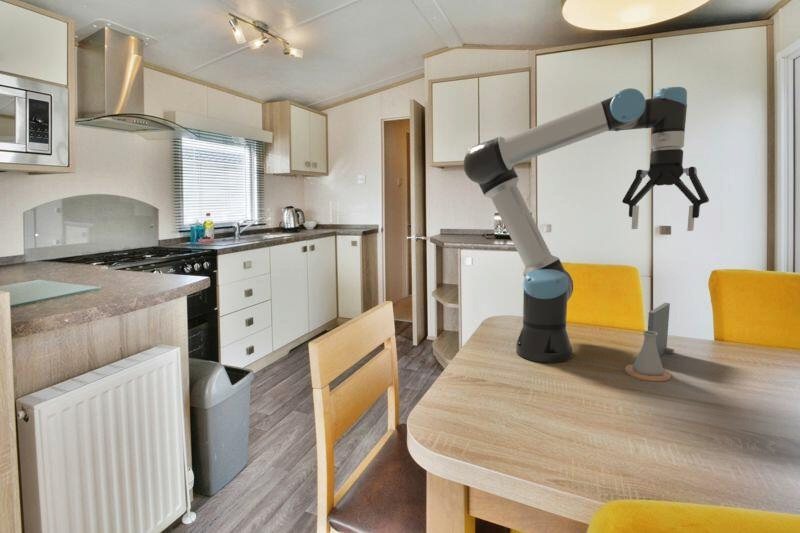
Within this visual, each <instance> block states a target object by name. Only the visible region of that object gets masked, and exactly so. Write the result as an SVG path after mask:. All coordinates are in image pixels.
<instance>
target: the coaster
mask: <svg viewBox="0 0 800 533" xmlns="http://www.w3.org/2000/svg"><path fill="white" fill-rule="evenodd" d="M633 364H634V363H632V364H628V365H626V366H625V368H624V371H625V373H626V374H627V375H629V376H630V377H632V378H635V379H638V380H641V381H646V382H654V383H656V382H657V383H658V382H660V383H661V382H667V381H670V380H671V379H672V373H671V372H670V371H668V370H667V369H664V368H663V369H664V375H647V374H641V373H638V372H637V371H635V370H633V369H632V368H633Z"/></svg>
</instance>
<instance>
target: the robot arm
mask: <svg viewBox="0 0 800 533" xmlns="http://www.w3.org/2000/svg"><path fill="white" fill-rule="evenodd" d="M687 101H688V90H687V89H686V88H685V87H682V86H671V87H664V88H660V89H657V90H656V91H655V92H654V95H653V97H651V98H646V97H645V96H644V94H643V93H642V92H641V91H640V90H638V89H637V88H630V87H629V88H624V89H621V90H620V91H618V92H617V93H615V94H614V96H611V97H609V98H607V99H604V100H602V101H599V102H596V103H593V104H591V105H588V106H586V107H584V108H581V109H578V110H575V111H573V112H570V113H567V114H565V115H563V116H560V117H557V118H555V119H552V120H550V121H547V122H544V123H542V124H539V125H536V126H533V127H531V128H529V129H527V130H524V131H521V132H519V133H516V134H513V135H510V136H508V137H503V136H498V137H495V138H492V139H490V140H487V141H484V142H481V143H477V144H476V145H474V146H472V147H470V149H469V150H468V151H467V153H466V154H465V156H464V159H463V170H464V173H465V175H466V176H467V178H468V179H469V180H470V181H472V182H474V183H476V184H478V186H479V187H480V189H481V192H482V194H483V196H484V197H486V198H489V199H491V201H492V202H493V205H494V206H495V208H496V211H497V213H498V215H499V218H501V221H502V223H503V225H504V227H505V229H506V231H507V233H508V235H509V237H510V239H511V241H512V243H513V245H514V248H515V249H516V251H517V254H519V257H520V260H521V261H522V263H523V265H524V270H523V273H522V274H523V276H524V278H523V283H522V287H523V309H522V310H523V312H522V328H521V329H520V333H519V334H518V335H519V336H518V338H517V341H516V343H515V344H516V345H515V348H516V349H515V352H516V354H517V355H518V356H520V357H521V358H524V359H526V360H529V361H533V362H541V363H562V362H565V361H568V360H570V359H571V358H573V347H572V344H571V340H570V336H569V334H568V332H567V312H568V311H567V308H568V302H569V300H570V299H571V297H572V296H573V295H572V294H573V292H574V281H573V278H572V275H570V273H569V272H568V271H567V270H566V269H565V268H564V266H563V263H562V262H561V260H560V258H559V257H558V256H555V255H553V254H551V251H550V249H549V247H548V245H547V243H546V241H545V239H544V237H543V235H542V233H541V232H540V230H539V227H538V226H537V224H536V221H535V220H534V217H533V215H532V213H531V211H530V210H529V207H528V206H527V204H526V201H525V199H524V198H523V196H522V193H521V191H520V189H519V188H518V183H519V179H520V178H519V176H518V173H517V172H516V170H515V168H514V166H515V165H517V164H520V163H522V162H525V161H528V160H531V159H533V158H536V157H539V156H541V155H544V154H547V153H550V152H552V151H555V150H558V149H561V148H565V147H567V146H571V145H572V144H574V143H578V142H581V141H583V140H587V139H589V138H592V137H595V136H597V135H600V134H603V133H605V132H620V131H629V130H639V129H641V130H642V129H651V140H650V141H651V143H650V149H651V150H652V151H651V152H650V156H649V157H650V158H649V169H648V170H644V169H637V170H636V172H635V177H634V180H633V181H632V182H631V184H630V187H629V188H628V189H627V192H626V194H625V195H624V197H623V199H622V201H621V202H622V203H623V204H625V205H627V206H628V217H629V218H631V230H637V229H639V228H638V227H639V215H640V214H639V212H640V211H639V210H640V205H638V204H637V203H638V202H640V200H642V199H643V198H644V196H646V195H647V194H648V193H649V192H650V190H651V189H653V187H655V186H673V185H674V186H676V187H677V189H678V190H679V191H680V192H681V193H682V194H683V195H684V196H685V197H686V198H687V199H688V200H689V202H690V203H691V204H692V205H689V206H688V218H687V232H692V231H694V227H695V226H694V225H695V219H698V218H699V216H700V210H701V205H703V204H707V203H709V201H710V198H709V197H708V195H707V192H706V191H705V189H704V187H703V185H702V182H701V180H700V179H699V177H698V172H697V170H698V169H697V168H696V167H695V166H690V167H686V168H684V167H683V160H684V150H683V149H682V148H683V147H684V146H685V132H686V122H687V121H686V119H687V108H688V102H687ZM684 173H685V176H688V177H689V180H690V182H691V184H692V185H693V187H694V189H695V192H696V193H697V195H698V198H699V199H698V198H697V196H696V195H695V194H694V193H693V191H691V189H689V187H688V186H687V185H685V183H684V182H683V180H682V179H681V177H682V176H683V175H684ZM646 176H648V177H649V180H648V181H647V182H646V183H645V185H644V186H643V187H642V188H641V189H640V190H639V191H638V193H636V191H637V189H638V187H639V186H640V185H641V183H642V181H643V179H644V178H646ZM635 193H636V194H635Z"/></svg>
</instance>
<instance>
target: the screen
mask: <svg viewBox="0 0 800 533" xmlns="http://www.w3.org/2000/svg"><path fill="white" fill-rule="evenodd" d="M670 306H671V303H669V302H664V303H662V304H660V305H659V306H657V307H655V308H653V309H652V310H650V311H649V312H648V320H647V321H648V322H647V331H654V332H657V333H658V335H657V336H656V346H657V350H658V354H659V357H661V356H662V355H664V354H668V355H673V354H674V353H675V349H674V348H670V347H668V346H667V345H668V336H669V335H668V334H669V322H670V321H669V320H670V308H671V307H670Z"/></svg>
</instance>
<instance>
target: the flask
mask: <svg viewBox="0 0 800 533" xmlns="http://www.w3.org/2000/svg"><path fill="white" fill-rule="evenodd" d="M657 335H658V333H657V332H654V331H648V330H643V336H644V338H643V342H642V346H641V348H640V350H639V353H638V355H637V357H636V359H635V360H634V362H633V363H632V364H633V368H632V369H633V370H635V371H637V372H638V373H641V374H647V375H664V366H663V364H662V360H661V358H660V357H661V356H660V357H659V354H658V350H657V346H656V336H657Z"/></svg>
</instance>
